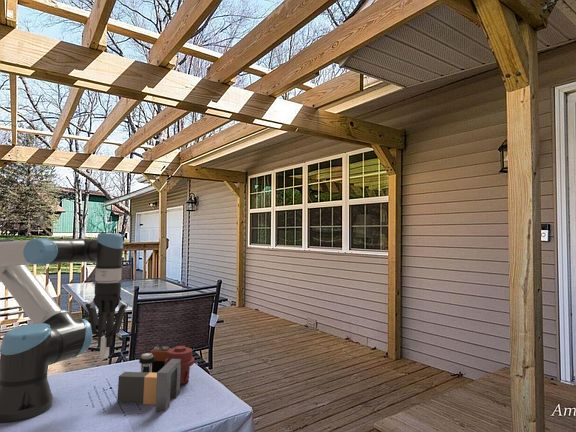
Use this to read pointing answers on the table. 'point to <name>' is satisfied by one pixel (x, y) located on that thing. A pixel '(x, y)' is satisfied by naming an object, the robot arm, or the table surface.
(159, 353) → the battery
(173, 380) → the grey piece
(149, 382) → the grey and orange block
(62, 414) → the table surface
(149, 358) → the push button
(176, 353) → the mechanical component
